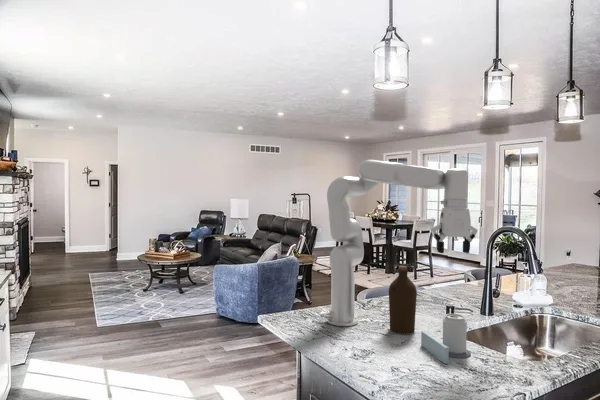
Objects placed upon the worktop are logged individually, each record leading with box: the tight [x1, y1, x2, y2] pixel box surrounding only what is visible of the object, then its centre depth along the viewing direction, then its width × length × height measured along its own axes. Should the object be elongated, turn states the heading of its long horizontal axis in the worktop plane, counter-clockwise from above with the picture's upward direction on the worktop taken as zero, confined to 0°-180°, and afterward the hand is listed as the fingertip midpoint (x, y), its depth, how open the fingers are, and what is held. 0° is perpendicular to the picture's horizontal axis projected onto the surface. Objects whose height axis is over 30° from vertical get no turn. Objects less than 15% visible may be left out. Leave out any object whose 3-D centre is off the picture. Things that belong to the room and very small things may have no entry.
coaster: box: [449, 349, 472, 359], centre depth 141 cm, size 10×10×1 cm
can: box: [442, 313, 468, 354], centre depth 141 cm, size 8×8×12 cm
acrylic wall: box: [420, 330, 450, 364], centre depth 139 cm, size 1×16×5 cm, turn 11°
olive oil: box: [388, 265, 418, 335], centre depth 163 cm, size 11×11×25 cm
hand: (453, 252), depth 148 cm, fingers open, 9 cm apart
